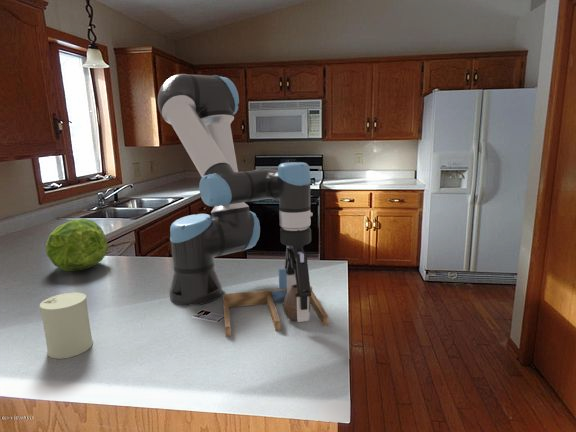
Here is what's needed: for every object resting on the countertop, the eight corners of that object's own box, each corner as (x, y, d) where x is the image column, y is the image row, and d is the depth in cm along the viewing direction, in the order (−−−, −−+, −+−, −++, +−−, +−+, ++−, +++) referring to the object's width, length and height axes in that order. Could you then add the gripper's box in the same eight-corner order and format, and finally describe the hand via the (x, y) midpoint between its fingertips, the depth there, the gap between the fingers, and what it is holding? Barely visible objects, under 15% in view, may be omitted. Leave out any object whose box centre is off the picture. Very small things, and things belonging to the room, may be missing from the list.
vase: (314, 314, 104) (313, 282, 102) (306, 326, 98) (305, 292, 96) (288, 310, 106) (288, 279, 105) (279, 322, 100) (278, 289, 98)
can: (59, 338, 95) (51, 291, 93) (99, 336, 96) (92, 289, 93) (38, 360, 86) (29, 308, 84) (83, 357, 87) (75, 305, 84)
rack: (225, 336, 94) (224, 322, 93) (223, 306, 111) (223, 294, 110) (327, 324, 98) (327, 311, 97) (311, 297, 115) (311, 285, 114)
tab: (279, 290, 113) (279, 269, 112) (279, 288, 114) (278, 268, 113) (297, 288, 114) (296, 268, 112) (296, 286, 115) (295, 266, 114)
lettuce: (91, 257, 161) (75, 214, 156) (122, 259, 146) (106, 212, 142) (41, 278, 146) (23, 231, 142) (70, 282, 132) (50, 231, 128)
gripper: (324, 239, 86) (325, 330, 90) (299, 215, 110) (301, 288, 114) (289, 241, 84) (292, 334, 89) (272, 217, 108) (275, 291, 113)
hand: (297, 308), depth 101 cm, fingers open, 13 cm apart
